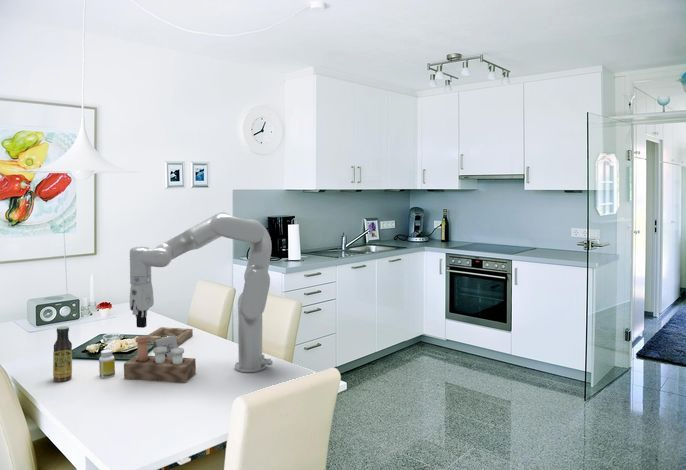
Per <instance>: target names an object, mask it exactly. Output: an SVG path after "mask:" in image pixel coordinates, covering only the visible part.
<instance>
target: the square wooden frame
mask: <svg viewBox="0 0 686 470" xmlns="http://www.w3.org/2000/svg"><path fill="white" fill-rule="evenodd" d="M193 331H194V330H193V328H181V327H162V326H161V327H158V328H157V329H156V330H154V331H153V332H150V333H149V334H147V335H146V336H148V337H149V341H148V343H154V342H155V341H156V340H158V339H162V338H166V337H170V336H176V339H177V345H178V347H179V346H181V345H182V344H183V343H185V342H187V341H188V340H189V339H191V338H192V337H193V336H194V335H193V334H194V333H193ZM161 336H162V337H161Z"/></svg>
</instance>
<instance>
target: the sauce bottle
mask: <svg viewBox="0 0 686 470" xmlns="http://www.w3.org/2000/svg"><path fill="white" fill-rule="evenodd" d="M69 331H70V326H64V325H63V326H59V327H56V341H55V342H54V344H53V357H52V358H53V359H52V360H53V361H52V370H53V371H52V376H53V381H55V382H58V383H59V382H66V381H70V379H72V376H73V351H72V349H73V343H72V342H71V341H70V339H69V338H70V337H69Z"/></svg>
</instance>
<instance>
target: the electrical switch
mask: <svg viewBox="0 0 686 470" xmlns="http://www.w3.org/2000/svg"><path fill="white" fill-rule="evenodd" d="M165 337H166V338H162V339H158V340H156V341H155V342H154V345H153V347H154V348H156V347H166V348H167V351H166V352H165V357H173V355H172V354H171V349H173V348H179V346H178V345H177V339H176V337H177V336H165Z"/></svg>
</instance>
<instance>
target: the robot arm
mask: <svg viewBox="0 0 686 470" xmlns="http://www.w3.org/2000/svg"><path fill="white" fill-rule="evenodd" d="M221 237H223V238H226V239H231V240H234V241H239V242H245V243H248V244H249V254H248V258H247V263H246V268H245V270H244V276H243V278H244V285H243V290H242V292H241V293H240V294H239V297H238V300H237V316H238V317H237V318H238V320H237V321H238V322H237V323H238V325H237V326H238V337H237V338H238V342H237V343H238V361H237V362H235V364H234V369H235V371H237V372H241V373H256V372H260V371H263V370H264V369H266V368H267V366H272V365H273V359H271V358H266V357H265V354H263V313H264V312H265V308H266V304H267V300H268V294H269V290H270V285H271V284H270V283H271V277H270V274H269V269H270V268H269V267H270V261H271V255H272V249H273V248H272V246H273V245H272V240H271V239H272V238H271V236H270V233H269V231H268V230H267V227H265V226H264V225H263V224H262V223H261V222H260V221H258V220H256V219H253V218H249V219H247V218H241V217H238V216H234V215H231V214H229V213H228V212H227V213H226V212H224V211H223V212H218V213H215V214H214V215H211V216H210V217H208V218H207V219H205V220H203V221H201V222H199V223H197V224H195V225H194V226H192V227H190V228H188V229H186V230H184V231H183V232H181V233H180V234H178V235H175V236H174V237H172V238H170V239H168V240H167V241H164V242H162V243H161V244H159V245H157V246H155V247H154V248H150V247H147V246H134V247H132V248H130V250H129V283H130V284H129V285H130V288H129V289H130V290H129V309H130V311H131V312H132V315H134V316H135V318H136V323H135V324H136V327H137V328H141V329H143V328H146V327H147V315H148V310H150V308H152V307H153V306H154V303H155V302H154V287H153V283H152V267H154V268H165V267H168V266H169V264H171V262H172V261H173V260H175V259H176V258H178V257H179V256H182V255H183V254H186V253H188V252H190V251H195V250H198V249H201V248H203V247H205V246H207V245H208V244H210V243H212V242H214V241H215V240H218V239H219V238H221Z"/></svg>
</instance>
